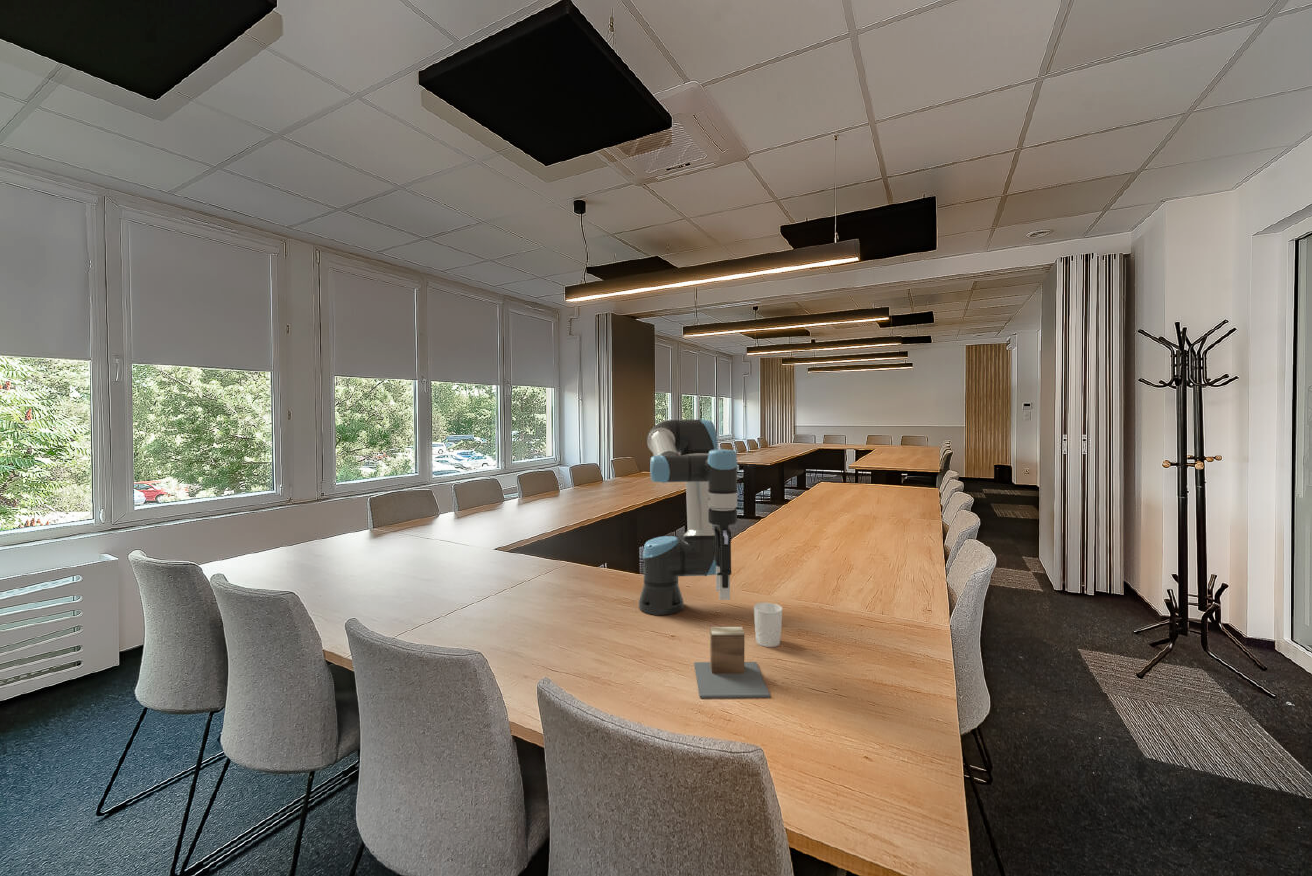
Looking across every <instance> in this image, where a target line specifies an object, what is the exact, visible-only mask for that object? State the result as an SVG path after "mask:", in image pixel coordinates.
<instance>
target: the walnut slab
mask: <svg viewBox="0 0 1312 876" xmlns="http://www.w3.org/2000/svg"><path fill="white" fill-rule="evenodd" d="M709 632H710V633H709V635H710V636H709V639H710V640H709V641H710V642H709V643H710V644H709V646H710V650H709V651H710V655H709V656H710V661H709V662H710V666H711V670H712V673H744V662H745V632H744V630H743V626H710V628H709Z"/></svg>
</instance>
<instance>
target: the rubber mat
mask: <svg viewBox="0 0 1312 876" xmlns="http://www.w3.org/2000/svg"><path fill="white" fill-rule="evenodd" d="M693 664H694V670H695V676H696V677H695V678H696V683H697V684H696V685H697V690H698V695H699V699H736V698H737V699H740V698H741V699H742V698H744V699H746V698H747V699H749V698H753V699H755V698H757V699H758V698H762V699H763V698H765V699H767V698H768V699H769V698H771V694H770V692H769V690H768V686H767V685H766V682H765V680H764V677H763V675H762V673H761V669H760V668H759V665H758V664H757V661H744V673H712V670H711V666H710V661H701V662H700V661H697V662H695V661H694V662H693Z"/></svg>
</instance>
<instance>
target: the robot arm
mask: <svg viewBox="0 0 1312 876" xmlns="http://www.w3.org/2000/svg"><path fill="white" fill-rule="evenodd" d="M717 435H718V434H717V429H716V427H715V424H714V423H713V422H712V421H711V420H710V419H700V418H699V419H668V420H665V421H664V420H663V421H662V422H659V423H658V424H656V425H654V426H653V427H652V428H650V430H649V432H648V433H647V437H646V443H647V447H648V449H649V450H650V451H651V452H652V456H651V457H650V461H649V464H650V466H649V473H650V479H651V481H652V482H653V483H662V484H666V483H685V493H686V495H685V496H686V517H687V518H686V522H687V524H686V525H687V531H685V533H684V534H683V536H682V537H683V539H682V540H679V539H678V537H677V536H673V535H671V536H670V535H663V536H657V537H654V538H651V539H648V540H647V541H646V542H645V543H644V546H643V554H642V557H643V586H642V590H641V592H640V596H639V598H638V609H639V610H640V611H641V612H643V613H645V614H649V615H655V616H667V615H672V614H677V613H679V612H681V611H683V610H684V598H683V595H682V592H681V589H680V586H679V577H703V576H704V577H707V576H708V577H709V576H715V590H716V592H718V594H719V595H718V598H719V600H722V601H724V600H725V601H726V600H728V601H729V600H731V575H732V573H733V572H732V531H731V530H730V528H729V526H731V525H735V524H737V523H738V510H737V507H738V490H737V489H738V482H737V481H738V464H739V462H738V460H737V459H738V458H737V457H738V456H737V452H736V451H735V450H733V449H718V443H719V442H718V436H717ZM679 453H680V454H679ZM713 525H715V526H714V530H713Z"/></svg>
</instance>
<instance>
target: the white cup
mask: <svg viewBox="0 0 1312 876" xmlns="http://www.w3.org/2000/svg"><path fill="white" fill-rule="evenodd" d="M753 615H754V616H753V617H754V618H753V619H754V621H753V622H754V630H755V631H754V632H755V642H756V643H757V645H759V646H762V647H764V648H765V647H766V648H775V647H778V646H780V644H781V637H782V636H781V635H782V623H783V622H782V621H783V607H782V606H781V605H779V604H777V603H774V602H759V603H756V604H754V606H753Z"/></svg>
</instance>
